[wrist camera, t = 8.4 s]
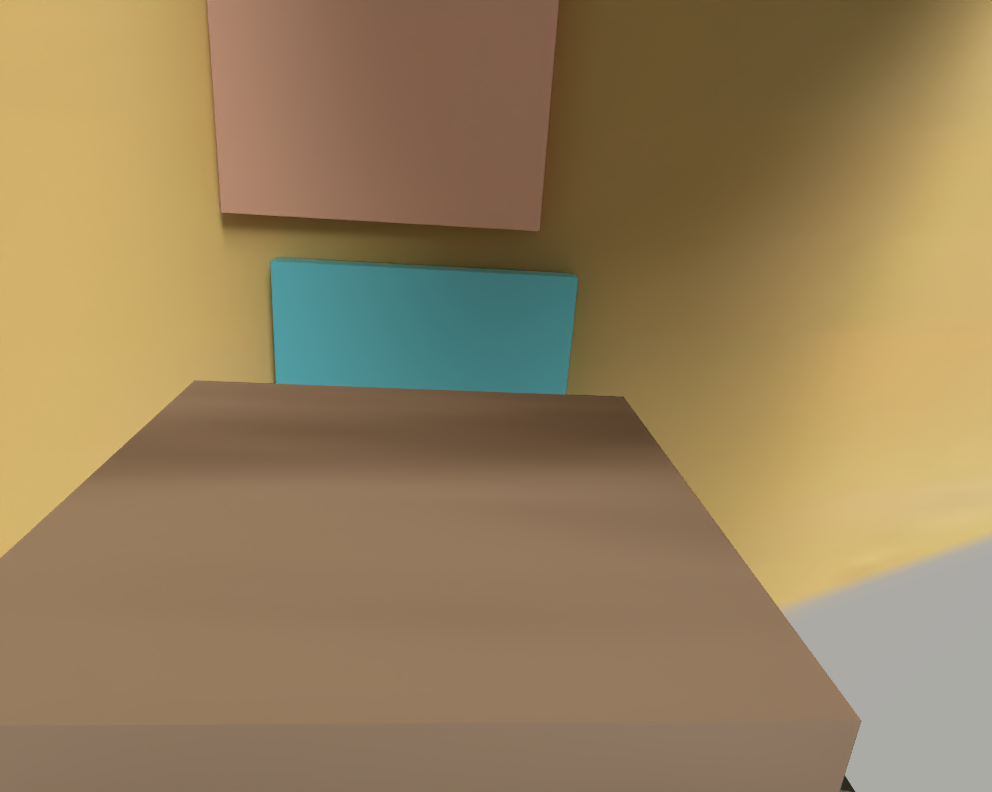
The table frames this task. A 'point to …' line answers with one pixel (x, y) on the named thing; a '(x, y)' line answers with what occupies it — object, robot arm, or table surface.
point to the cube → (399, 610)
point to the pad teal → (421, 326)
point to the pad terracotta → (384, 109)
